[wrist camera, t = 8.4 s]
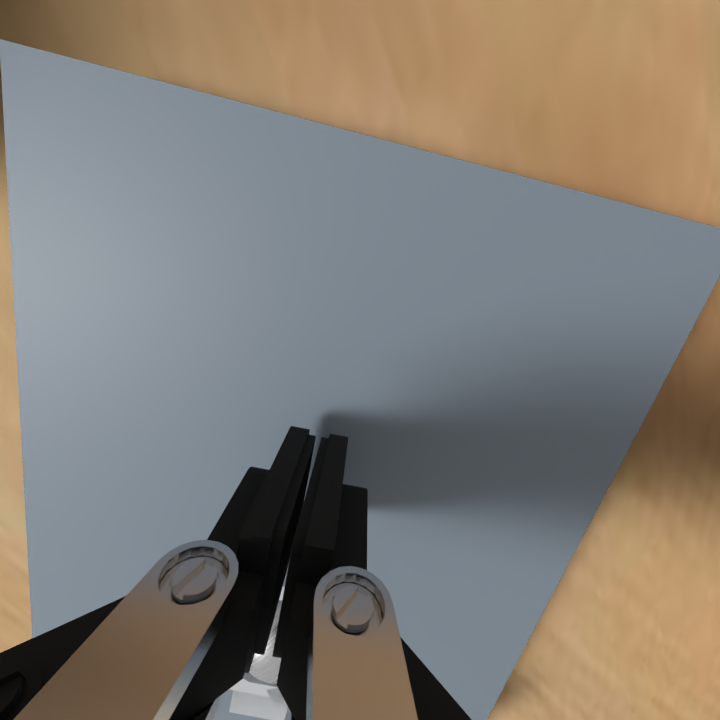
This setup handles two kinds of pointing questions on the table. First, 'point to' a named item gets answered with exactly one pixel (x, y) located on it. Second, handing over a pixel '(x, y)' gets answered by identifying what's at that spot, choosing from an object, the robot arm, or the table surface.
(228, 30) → the table surface
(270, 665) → the silver metal ball
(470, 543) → the plate
